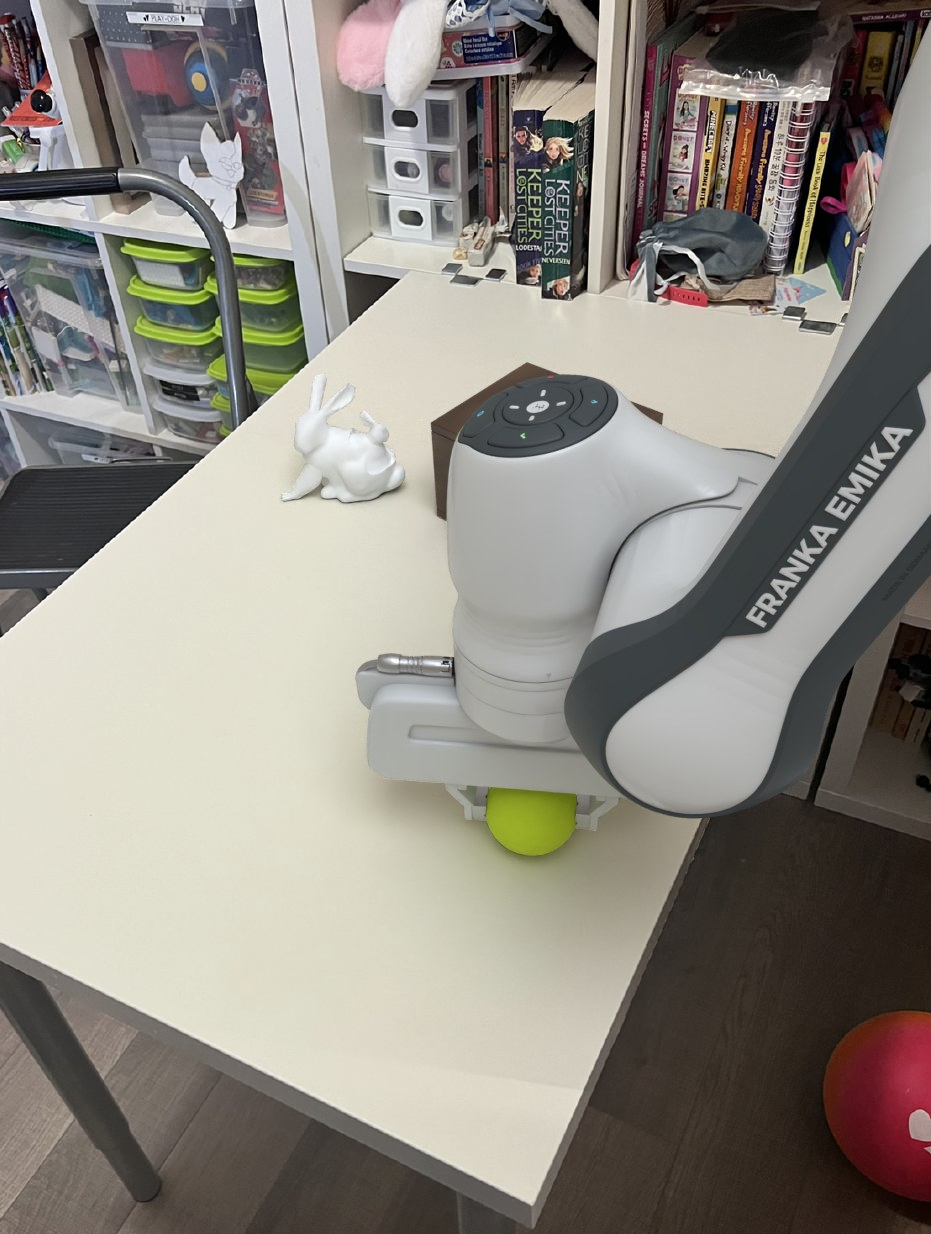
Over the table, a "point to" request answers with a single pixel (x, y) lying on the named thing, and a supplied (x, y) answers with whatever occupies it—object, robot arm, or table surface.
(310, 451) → the rabbit figurine
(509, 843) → the ball
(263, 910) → the table surface
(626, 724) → the robot arm
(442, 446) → the cabinet
